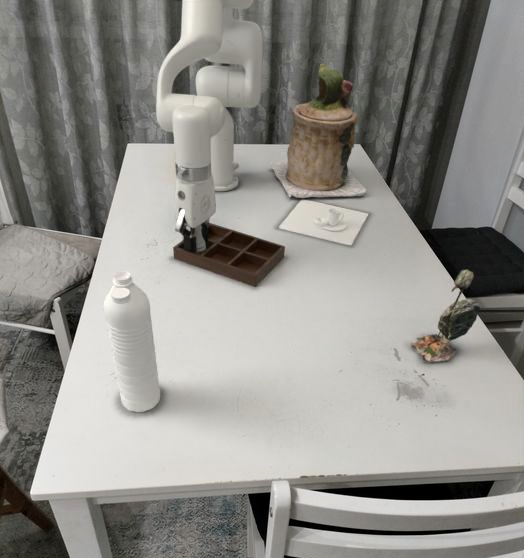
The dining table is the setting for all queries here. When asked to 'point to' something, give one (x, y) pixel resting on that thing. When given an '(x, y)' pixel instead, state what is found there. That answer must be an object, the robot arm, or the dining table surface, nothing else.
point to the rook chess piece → (199, 239)
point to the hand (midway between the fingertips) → (196, 245)
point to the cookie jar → (321, 143)
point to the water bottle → (132, 343)
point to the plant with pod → (450, 324)
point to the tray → (234, 255)
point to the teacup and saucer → (324, 221)
